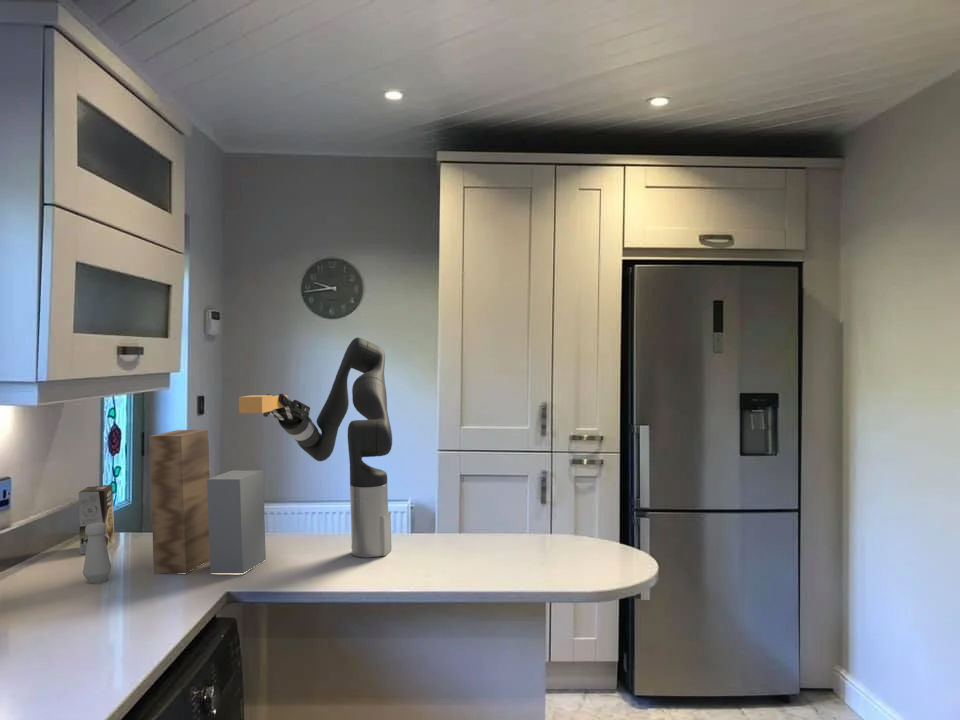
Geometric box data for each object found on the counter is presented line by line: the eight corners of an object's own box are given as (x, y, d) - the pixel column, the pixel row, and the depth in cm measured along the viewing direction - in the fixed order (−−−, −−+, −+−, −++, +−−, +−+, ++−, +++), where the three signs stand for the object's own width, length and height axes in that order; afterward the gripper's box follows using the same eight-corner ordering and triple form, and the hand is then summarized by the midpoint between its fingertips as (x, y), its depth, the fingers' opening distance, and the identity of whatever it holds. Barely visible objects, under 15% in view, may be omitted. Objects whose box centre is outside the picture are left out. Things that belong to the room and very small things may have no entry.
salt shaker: (84, 579, 169) (82, 522, 169) (112, 575, 172) (110, 519, 172) (82, 586, 164) (80, 527, 164) (111, 582, 167) (109, 524, 166)
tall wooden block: (212, 559, 183) (208, 429, 182) (185, 574, 171) (181, 435, 171) (182, 558, 184) (177, 430, 184) (153, 573, 172) (149, 436, 172)
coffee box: (106, 552, 192) (104, 490, 191) (79, 554, 190) (77, 492, 190) (115, 543, 201) (113, 484, 200) (89, 545, 199) (87, 485, 199)
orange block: (293, 406, 202) (292, 391, 202) (262, 413, 183) (261, 396, 183) (272, 406, 203) (271, 391, 203) (239, 413, 184) (238, 397, 184)
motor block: (265, 560, 181) (263, 470, 181) (242, 575, 169) (239, 479, 169) (235, 559, 182) (232, 470, 182) (210, 574, 170) (207, 479, 170)
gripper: (276, 411, 215) (251, 384, 200) (322, 411, 213) (301, 383, 198) (271, 435, 211) (245, 410, 196) (318, 435, 209) (296, 409, 194)
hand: (273, 397), depth 197 cm, fingers closed on orange block, 3 cm apart
